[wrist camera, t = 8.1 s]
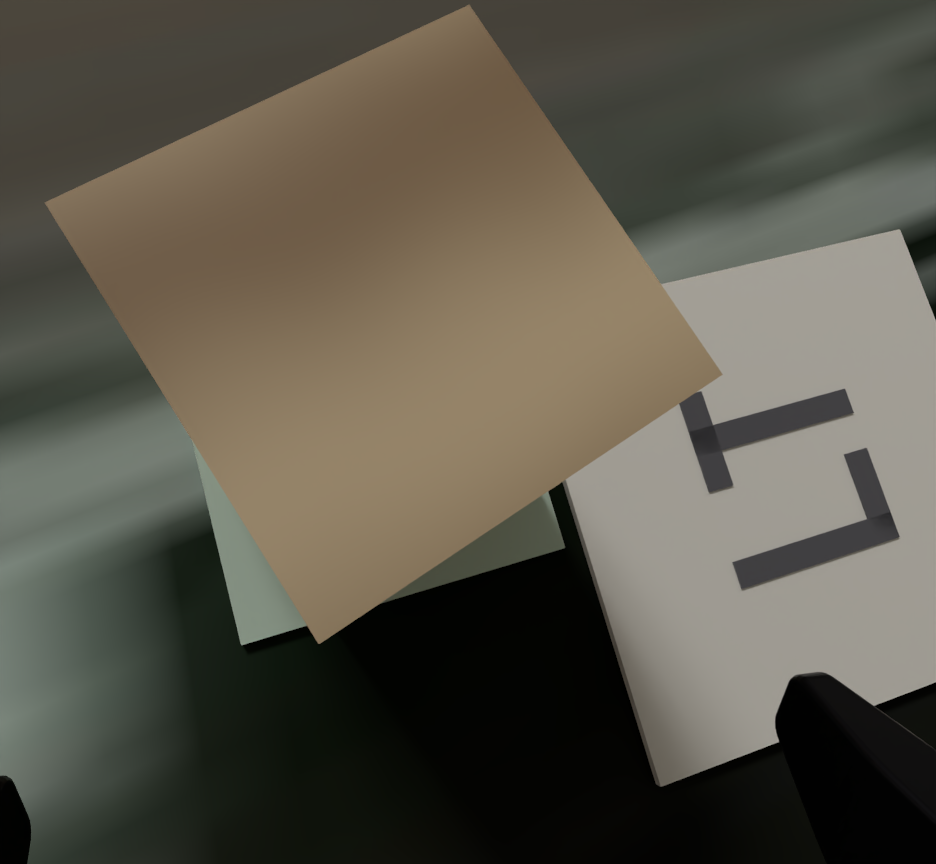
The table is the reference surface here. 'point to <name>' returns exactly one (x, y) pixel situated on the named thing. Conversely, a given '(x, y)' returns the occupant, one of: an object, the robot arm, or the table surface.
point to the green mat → (273, 612)
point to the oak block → (384, 311)
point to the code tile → (775, 504)
